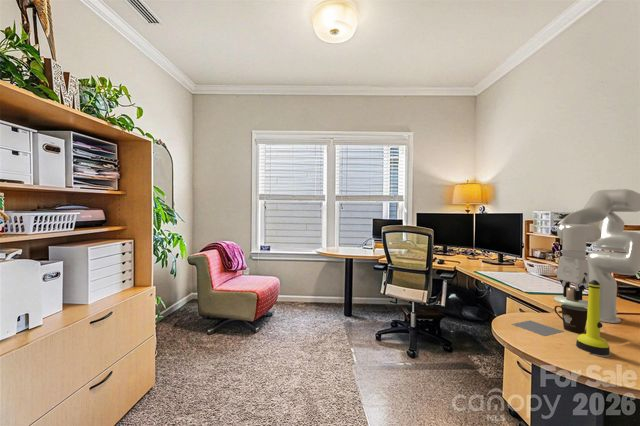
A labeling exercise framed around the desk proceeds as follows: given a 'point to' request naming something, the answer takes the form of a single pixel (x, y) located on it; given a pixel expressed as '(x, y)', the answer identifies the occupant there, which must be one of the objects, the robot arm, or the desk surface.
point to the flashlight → (593, 325)
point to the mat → (537, 328)
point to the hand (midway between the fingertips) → (572, 297)
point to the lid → (571, 299)
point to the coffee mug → (573, 318)
